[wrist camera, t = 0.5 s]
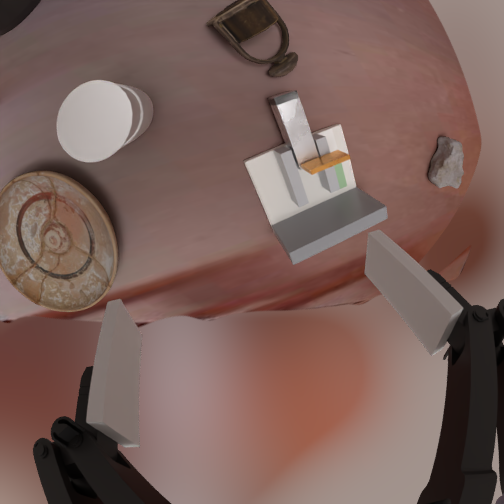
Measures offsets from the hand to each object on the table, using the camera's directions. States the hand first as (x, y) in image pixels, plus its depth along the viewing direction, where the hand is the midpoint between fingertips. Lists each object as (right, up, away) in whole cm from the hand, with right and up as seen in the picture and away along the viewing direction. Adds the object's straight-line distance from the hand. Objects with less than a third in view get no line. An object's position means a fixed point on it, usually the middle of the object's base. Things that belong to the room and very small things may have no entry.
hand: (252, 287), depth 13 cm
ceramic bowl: (-30, +4, +21) cm, 37 cm away
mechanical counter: (0, +29, +14) cm, 32 cm away
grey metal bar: (+6, +19, +20) cm, 28 cm away
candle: (-15, +19, +16) cm, 29 cm away
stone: (+37, +20, +29) cm, 51 cm away
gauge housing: (+8, +12, +26) cm, 30 cm away
